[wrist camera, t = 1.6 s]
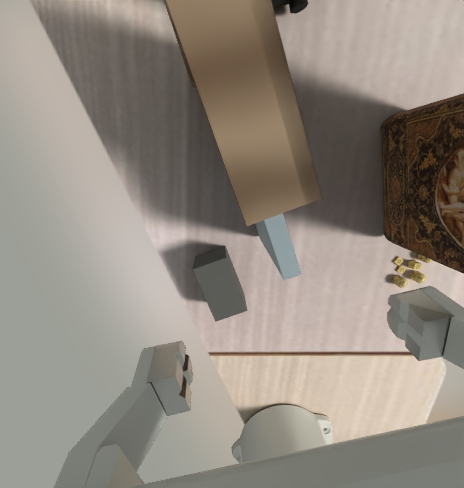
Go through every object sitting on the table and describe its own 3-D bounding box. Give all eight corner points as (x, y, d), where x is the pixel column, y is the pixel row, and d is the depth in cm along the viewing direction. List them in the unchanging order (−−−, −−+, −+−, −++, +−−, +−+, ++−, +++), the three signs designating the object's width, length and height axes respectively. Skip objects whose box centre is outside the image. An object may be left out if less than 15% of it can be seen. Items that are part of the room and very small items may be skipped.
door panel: (270, 234, 36) (301, 274, 22) (259, 238, 36) (284, 280, 22) (242, 147, 32) (258, 134, 19) (230, 152, 32) (238, 142, 19)
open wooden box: (265, 181, 34) (322, 198, 15) (231, 194, 34) (247, 226, 16) (226, 57, 30) (237, -128, 11) (187, 72, 30) (136, -83, 11)
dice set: (424, 248, 39) (434, 252, 37) (419, 279, 40) (429, 285, 38) (391, 251, 39) (400, 255, 37) (387, 282, 40) (396, 288, 38)
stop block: (243, 292, 39) (247, 310, 34) (216, 302, 39) (215, 321, 34) (225, 245, 37) (226, 257, 32) (195, 256, 37) (192, 269, 32)
